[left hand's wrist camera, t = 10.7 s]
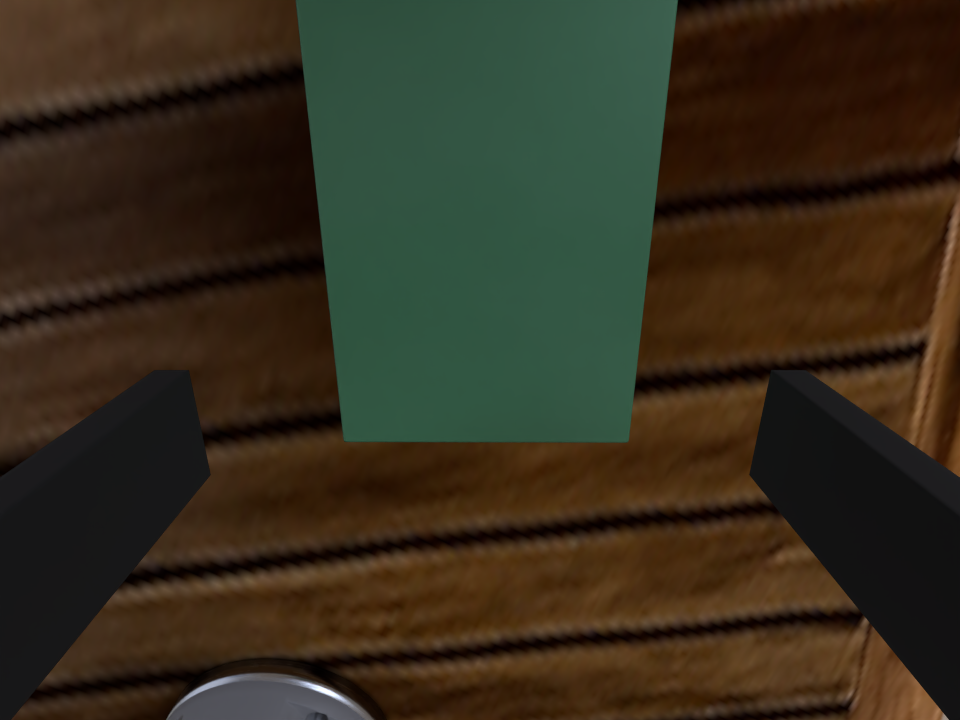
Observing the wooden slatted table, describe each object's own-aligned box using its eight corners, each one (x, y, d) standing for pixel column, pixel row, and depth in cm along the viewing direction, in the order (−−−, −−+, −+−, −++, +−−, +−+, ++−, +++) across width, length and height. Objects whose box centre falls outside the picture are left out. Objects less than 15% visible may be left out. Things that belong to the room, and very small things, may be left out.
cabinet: (368, 33, 22) (290, -37, 14) (604, 32, 22) (683, -40, 13) (389, 344, 28) (343, 443, 19) (582, 344, 27) (629, 443, 18)
